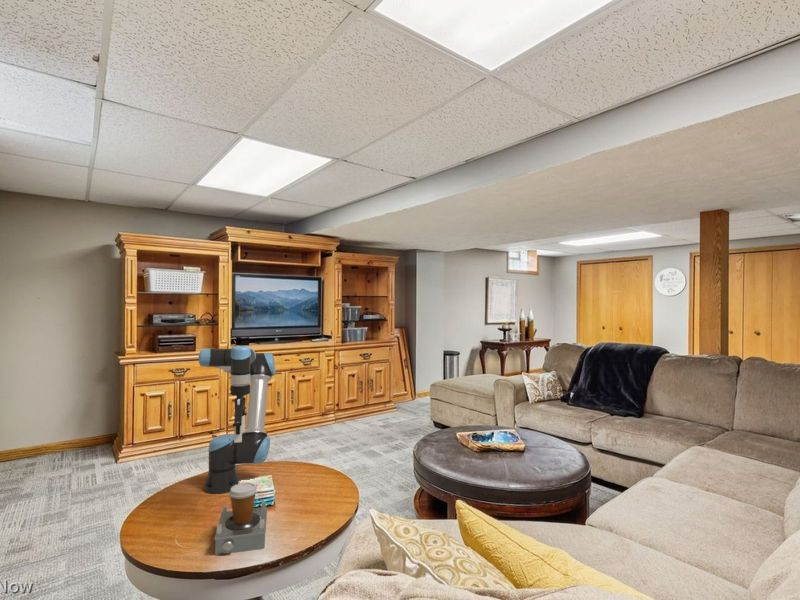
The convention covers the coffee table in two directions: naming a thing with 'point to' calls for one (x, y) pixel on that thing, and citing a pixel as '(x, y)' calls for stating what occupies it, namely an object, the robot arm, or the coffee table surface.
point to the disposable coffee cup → (242, 502)
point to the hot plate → (241, 532)
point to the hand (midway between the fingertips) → (239, 436)
